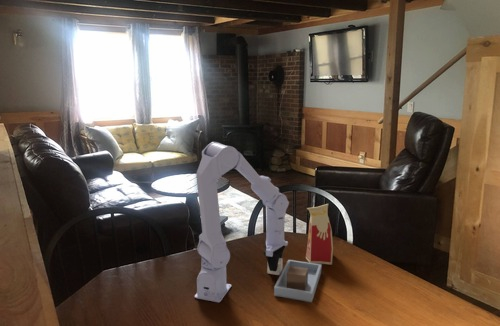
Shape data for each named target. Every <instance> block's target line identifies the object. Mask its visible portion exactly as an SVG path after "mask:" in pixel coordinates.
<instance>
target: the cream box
mask: <svg viewBox="0 0 500 326" xmlns="http://www.w3.org/2000/svg"><path fill="white" fill-rule="evenodd" d="M266 270H267V271H266V274H270V275H275V276H280V275H281V273H282V271H283V258H279V261H278V267H277V270H276V272H275V271H270V269H269V265H268V261H267V269H266Z"/></svg>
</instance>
